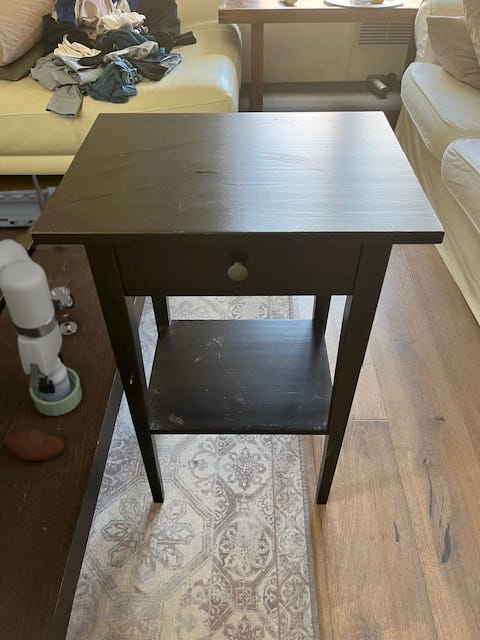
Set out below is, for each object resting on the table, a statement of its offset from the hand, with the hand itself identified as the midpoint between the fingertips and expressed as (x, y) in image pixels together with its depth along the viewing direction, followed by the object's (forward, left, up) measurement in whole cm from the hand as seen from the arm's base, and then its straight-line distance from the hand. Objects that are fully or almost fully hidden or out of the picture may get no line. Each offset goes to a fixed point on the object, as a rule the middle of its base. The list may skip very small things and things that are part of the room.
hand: (52, 378), depth 106 cm
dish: (0, 0, -7) cm, 7 cm away
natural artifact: (-17, +59, +5) cm, 61 cm away
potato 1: (-21, +48, -5) cm, 53 cm away
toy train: (-27, +59, 0) cm, 65 cm away
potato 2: (0, -14, -7) cm, 16 cm away
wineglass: (-4, +21, -7) cm, 22 cm away
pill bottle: (0, 0, -6) cm, 6 cm away
